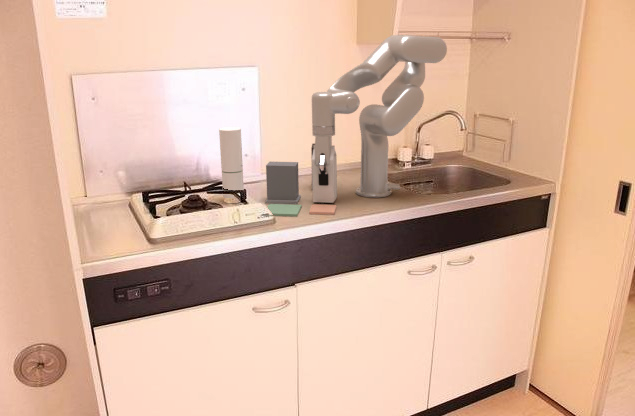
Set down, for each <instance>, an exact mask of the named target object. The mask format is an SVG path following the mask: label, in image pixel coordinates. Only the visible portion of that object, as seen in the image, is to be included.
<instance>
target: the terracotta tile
mask: <svg viewBox="0 0 635 416" xmlns="http://www.w3.org/2000/svg"><path fill="white" fill-rule="evenodd" d="M336 211H337V204H322V203H321V204H320V203H319V204H317V203H315V204H314V203H313V204H312V205H311V206H310V209H309V211H308V212H309V213H308V214H309V215H326V216H327V215H328V216H329V215H331V216H335V214H336Z"/></svg>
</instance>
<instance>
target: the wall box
mask: <svg viewBox="0 0 635 416" xmlns="http://www.w3.org/2000/svg"><path fill="white" fill-rule="evenodd" d="M265 174H266V175H265V176H266V177H265V178H266V198H265V204H291V205H299V204H298V203H299V202H300V200H301V197H302V196H301V194H300V191H299V189H300V188H299V162H298V161H268V163H266V164H265Z"/></svg>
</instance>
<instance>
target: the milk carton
mask: <svg viewBox="0 0 635 416" xmlns="http://www.w3.org/2000/svg"><path fill="white" fill-rule="evenodd" d="M319 162H320V161H319ZM326 163H327V162H326V160H324V164H326ZM337 164H338V163H337V153H336V149H335V144H332V146H331V155H330V162H329V166H327V174H328V186H320V185H319V176H318V174H319V164H318V165H317V166H316V165H315V145H314V149H313V155H312V154H311V181H312V180H313V190H312V201H313V202H312V203H330V204H331V203H332V204H333V203H335V201H336V199H337V198H338V174H337V173H338V171H337V166H338V165H337ZM325 168H326V167H325Z"/></svg>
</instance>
